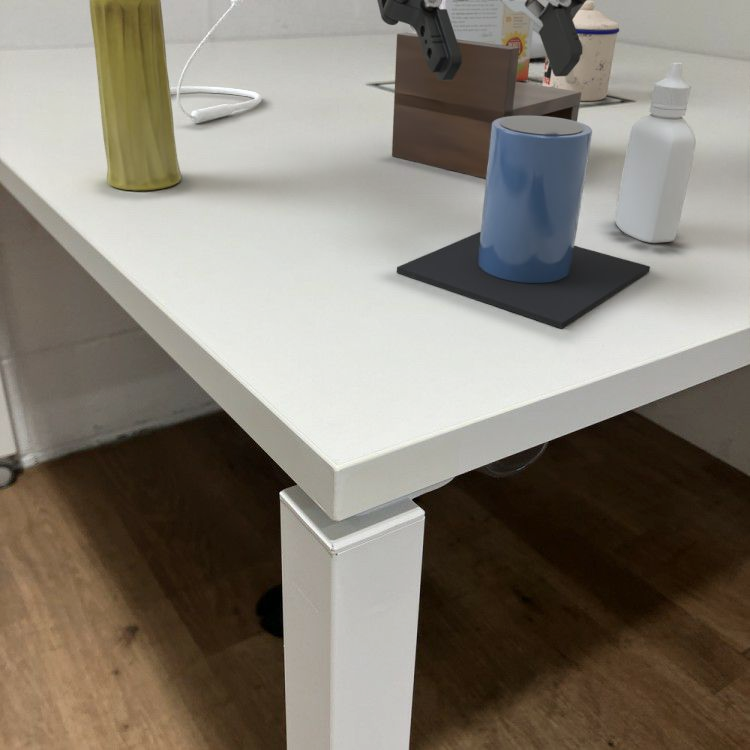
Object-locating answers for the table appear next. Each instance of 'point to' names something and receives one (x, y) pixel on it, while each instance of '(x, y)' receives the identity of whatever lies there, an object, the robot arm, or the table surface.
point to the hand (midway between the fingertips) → (512, 71)
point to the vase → (134, 94)
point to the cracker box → (492, 27)
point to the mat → (534, 300)
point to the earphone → (214, 88)
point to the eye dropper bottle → (657, 164)
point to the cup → (532, 197)
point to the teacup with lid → (588, 56)
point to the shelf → (464, 104)
